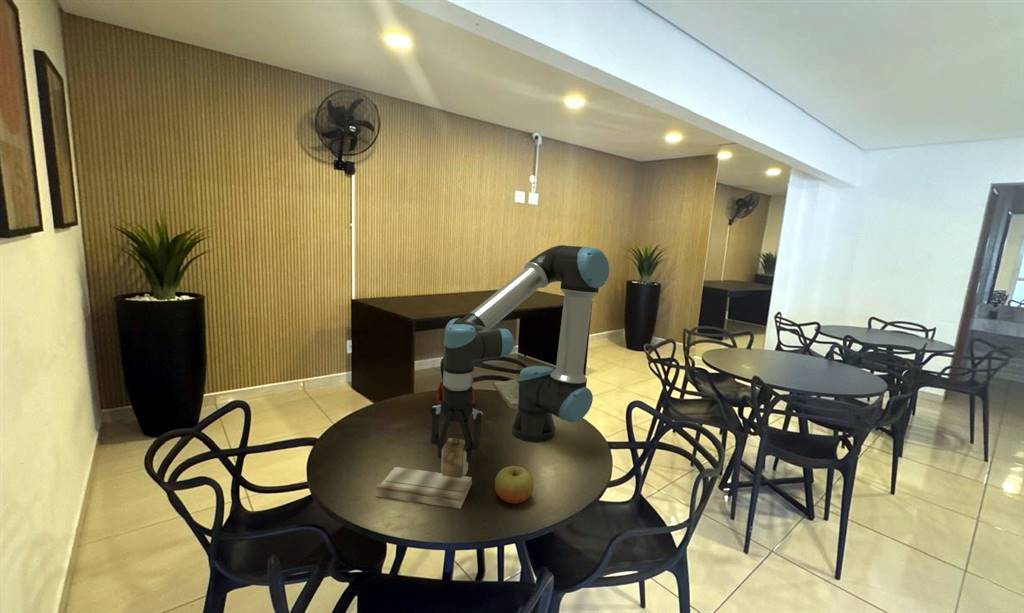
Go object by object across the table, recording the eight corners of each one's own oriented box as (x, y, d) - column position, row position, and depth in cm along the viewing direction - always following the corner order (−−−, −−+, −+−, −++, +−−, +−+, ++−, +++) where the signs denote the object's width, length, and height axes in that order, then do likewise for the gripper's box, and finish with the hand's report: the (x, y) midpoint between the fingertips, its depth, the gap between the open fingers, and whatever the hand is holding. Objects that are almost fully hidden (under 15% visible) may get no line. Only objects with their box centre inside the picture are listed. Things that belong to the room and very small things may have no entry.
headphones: (434, 393, 181) (437, 419, 162) (435, 377, 179) (438, 403, 160) (470, 391, 184) (476, 417, 166) (471, 376, 182) (478, 401, 164)
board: (471, 483, 118) (471, 474, 117) (460, 508, 107) (460, 498, 107) (394, 473, 121) (394, 464, 121) (376, 496, 110) (376, 486, 110)
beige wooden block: (466, 468, 115) (467, 436, 114) (458, 483, 108) (459, 449, 107) (448, 465, 116) (449, 434, 115) (439, 480, 109) (440, 447, 107)
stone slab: (514, 406, 165) (491, 378, 192) (513, 417, 166) (491, 387, 193) (544, 403, 169) (517, 376, 196) (543, 413, 170) (517, 384, 197)
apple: (502, 513, 106) (504, 483, 105) (488, 491, 115) (490, 463, 114) (538, 504, 110) (540, 476, 109) (522, 484, 119) (524, 457, 118)
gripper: (495, 384, 112) (491, 468, 116) (428, 377, 115) (426, 459, 118) (489, 394, 105) (485, 483, 108) (418, 386, 107) (416, 473, 111)
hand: (454, 470), depth 113 cm, fingers closed on beige wooden block, 5 cm apart
